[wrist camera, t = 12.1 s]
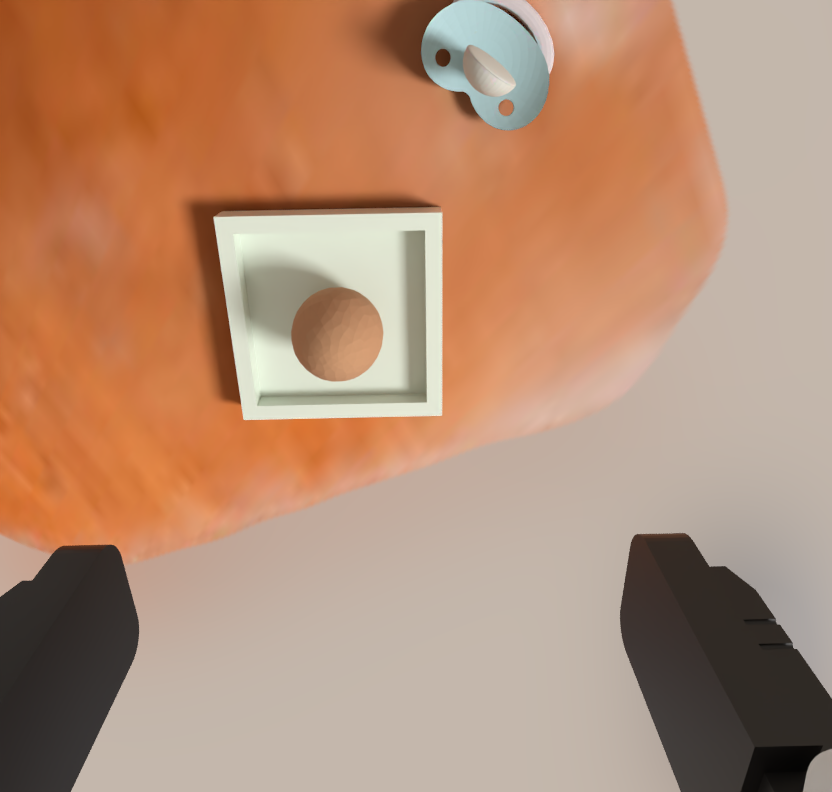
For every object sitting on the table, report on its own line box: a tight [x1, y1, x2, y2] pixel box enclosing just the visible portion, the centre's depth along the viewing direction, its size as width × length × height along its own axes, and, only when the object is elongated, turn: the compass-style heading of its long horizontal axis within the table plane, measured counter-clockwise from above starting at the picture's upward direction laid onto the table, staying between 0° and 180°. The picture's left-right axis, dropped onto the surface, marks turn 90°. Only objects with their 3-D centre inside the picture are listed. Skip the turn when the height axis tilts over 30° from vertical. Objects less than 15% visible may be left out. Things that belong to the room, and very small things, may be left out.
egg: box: [291, 287, 383, 382], centre depth 38 cm, size 5×5×7 cm
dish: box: [213, 207, 442, 420], centre depth 41 cm, size 13×13×2 cm
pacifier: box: [421, 0, 554, 130], centre depth 33 cm, size 7×6×6 cm
